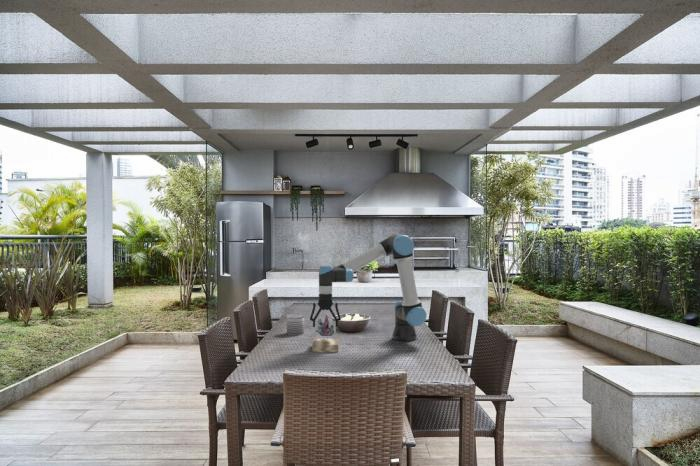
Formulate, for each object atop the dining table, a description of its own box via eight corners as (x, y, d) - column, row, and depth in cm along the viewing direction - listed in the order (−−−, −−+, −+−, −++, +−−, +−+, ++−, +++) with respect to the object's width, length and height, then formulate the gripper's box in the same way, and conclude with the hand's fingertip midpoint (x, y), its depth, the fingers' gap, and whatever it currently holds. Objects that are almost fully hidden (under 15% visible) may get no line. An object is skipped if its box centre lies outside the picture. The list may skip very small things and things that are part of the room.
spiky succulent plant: (336, 332, 262) (323, 315, 263) (320, 344, 263) (307, 326, 265) (340, 329, 273) (327, 311, 275) (325, 340, 275) (312, 323, 276)
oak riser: (337, 345, 276) (337, 338, 276) (338, 352, 261) (338, 344, 261) (313, 346, 275) (313, 339, 275) (312, 352, 260) (312, 344, 260)
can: (307, 334, 308) (307, 315, 308) (291, 336, 302) (291, 317, 302) (299, 331, 318) (299, 313, 318) (283, 333, 311) (283, 314, 311)
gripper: (345, 292, 272) (345, 331, 272) (305, 292, 271) (305, 331, 271) (345, 293, 265) (345, 334, 265) (304, 293, 264) (304, 334, 263)
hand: (325, 332), depth 268 cm, fingers closed on spiky succulent plant, 10 cm apart
